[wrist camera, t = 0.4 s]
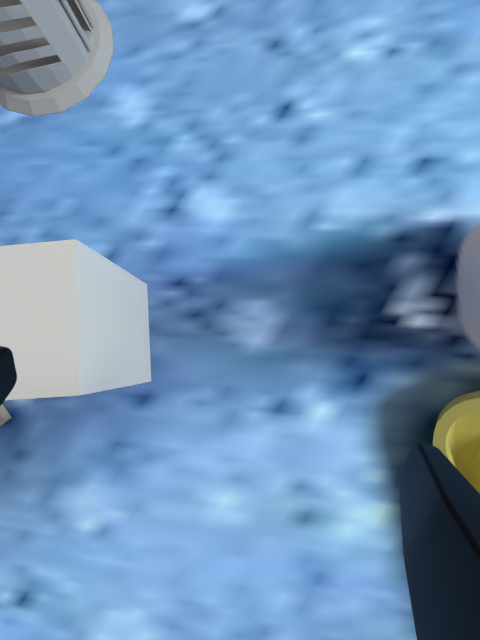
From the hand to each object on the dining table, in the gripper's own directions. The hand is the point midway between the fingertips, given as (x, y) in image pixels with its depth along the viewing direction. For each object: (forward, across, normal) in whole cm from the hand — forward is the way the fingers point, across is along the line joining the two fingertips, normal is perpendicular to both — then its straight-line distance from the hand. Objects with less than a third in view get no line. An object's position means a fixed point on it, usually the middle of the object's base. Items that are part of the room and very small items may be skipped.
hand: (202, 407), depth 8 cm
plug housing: (+12, +9, +8) cm, 17 cm away
